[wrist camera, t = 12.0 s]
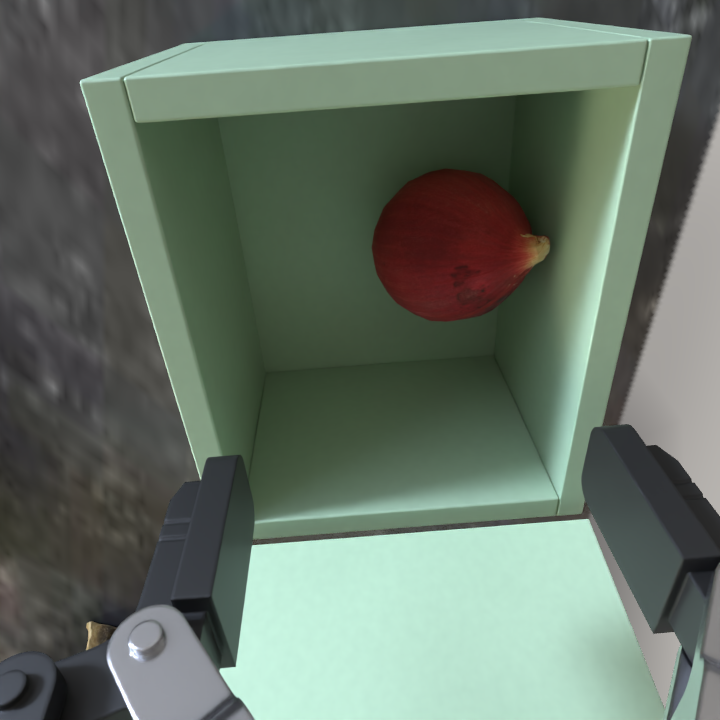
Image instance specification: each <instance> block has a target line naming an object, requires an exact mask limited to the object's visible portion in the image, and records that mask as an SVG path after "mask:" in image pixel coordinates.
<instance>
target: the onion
mask: <svg viewBox="0 0 720 720" xmlns="http://www.w3.org/2000/svg"><path fill="white" fill-rule="evenodd" d="M549 250H550V240H549V237H548V236H545V235H543V236H537V235H532V229H531V225H530V223H529V221H528V219H527V217H526V215H525V213H524V211H523V210H522V208H521V206H520V204H519V203H518V202H517V200H516V199H515V198H514V197H513V196H512V195H511V194H510V193H508V192H507V191H506V190H505V189H503V188H502V187H501V186H500V185H498V184H497V183H496V182H495V181H493V180H492V179H490V178H488V177H486V176H485V175H483V174H481V173H476V172H471V171H466V170H457V169H447V168H445V169H440V170H435V171H430V172H428V173H426V174H423V175H421V176H419V177H417V178H415V179H413V180H410V181H408V182H407V183H406V184H405V185H404V186H403V187H402V188H401V189H400V190H399V191H398V192H397V193H396V194H395V195H394V197H393V198H392V199H391V200H390V201H389V202H388V203H387V204H386V205H385V206H384V208H383V210H382V213H381V215H380V217H379V220H378V222H377V225H376V227H375V229H374V235H373V242H372V253H373V259H374V265H375V269H376V273H377V276H378V277H379V279H380V281H381V283H382V284H383V286H384V288H385V289H386V291H387V293H388V294H389V295H390V296H391V297H392V298H393V299H394V301H395V302H396V303H397V304H398V305H400V306H402V307H403V308H405V309H406V310H408V311H410V312H411V313H413V314H415V315H417V316H419V317H422V318H424V319H427V320H429V321H443V322H448V321H455V320H463V319H469V318H473V317H478V316H481V315H483V314H486V313H488V312H490V311H492V310H493V309H494V308H496V307H497V306H499V305H500V304H501V303H502V302H503V301H504V300H506V299H507V298H508V297H509V296H510V295H511V294H512V293H513V292H514V291H515V290H516V289H517V288H518V287H519V285H520V284H521V283H522V281H523V280H524V278H525V276H526V275H527V274H528V273H529V272H530V270H531V269H532V268H533V266H534V265H535V264H537V263H539V262H541V261H543V260H544V259H545V257H546V256H547V254H548V253H549Z"/></svg>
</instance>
